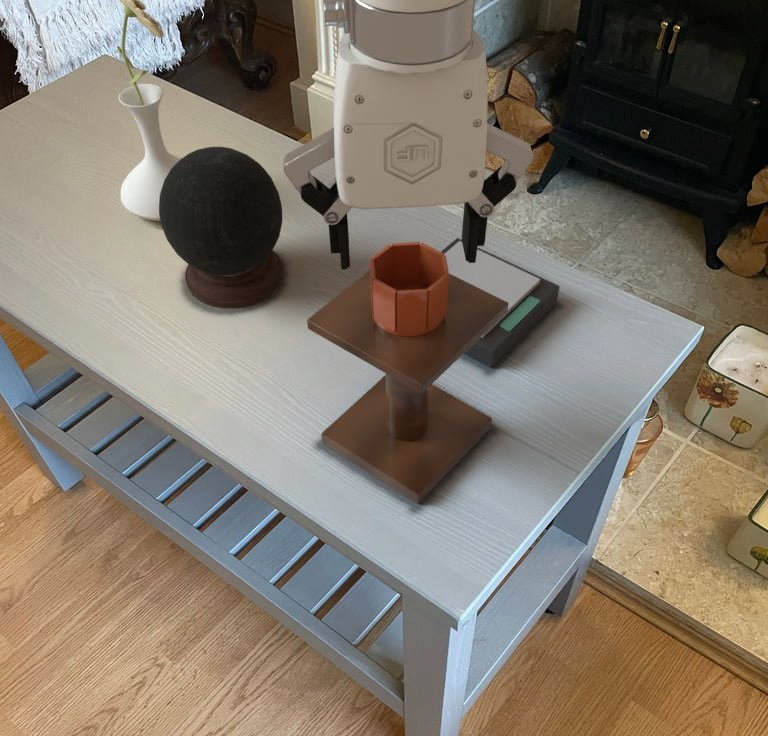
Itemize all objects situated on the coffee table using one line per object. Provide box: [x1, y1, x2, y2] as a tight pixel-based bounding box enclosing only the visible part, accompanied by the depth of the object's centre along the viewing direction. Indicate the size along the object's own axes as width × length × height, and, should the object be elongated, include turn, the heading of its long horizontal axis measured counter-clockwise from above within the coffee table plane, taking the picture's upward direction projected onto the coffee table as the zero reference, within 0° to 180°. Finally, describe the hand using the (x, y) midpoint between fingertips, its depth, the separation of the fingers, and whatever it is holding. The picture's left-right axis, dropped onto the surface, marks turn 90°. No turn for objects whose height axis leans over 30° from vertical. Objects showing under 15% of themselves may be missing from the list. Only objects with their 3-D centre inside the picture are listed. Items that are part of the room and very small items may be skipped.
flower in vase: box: [116, 0, 183, 222], centre depth 93 cm, size 13×11×25 cm
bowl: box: [368, 241, 449, 336], centre depth 65 cm, size 6×6×4 cm
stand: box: [306, 268, 509, 505], centre depth 73 cm, size 12×12×16 cm
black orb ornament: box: [159, 146, 283, 309], centre depth 88 cm, size 13×13×15 cm
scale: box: [440, 237, 561, 369], centre depth 89 cm, size 14×13×3 cm
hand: (406, 254), depth 62 cm, fingers open, 9 cm apart
